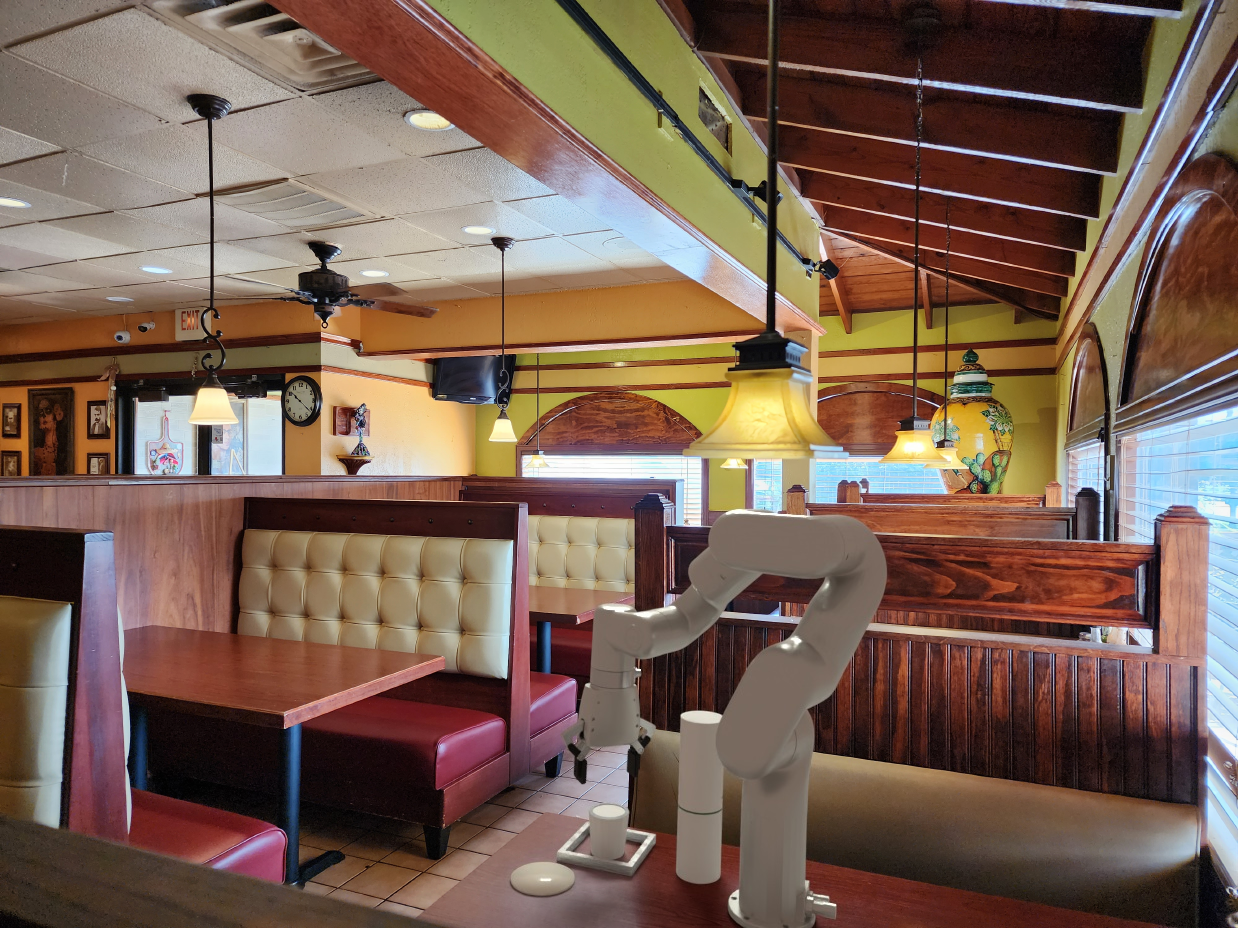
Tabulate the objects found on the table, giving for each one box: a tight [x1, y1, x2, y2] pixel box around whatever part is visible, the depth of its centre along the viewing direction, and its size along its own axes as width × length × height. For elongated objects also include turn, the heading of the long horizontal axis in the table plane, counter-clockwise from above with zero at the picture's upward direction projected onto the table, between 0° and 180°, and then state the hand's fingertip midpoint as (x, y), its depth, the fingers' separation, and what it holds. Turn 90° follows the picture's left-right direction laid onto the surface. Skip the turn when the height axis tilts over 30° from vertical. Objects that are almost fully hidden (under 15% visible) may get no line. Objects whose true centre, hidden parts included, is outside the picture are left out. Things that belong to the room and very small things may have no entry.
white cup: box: [588, 802, 630, 860], centre depth 136 cm, size 7×7×7 cm
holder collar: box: [556, 821, 657, 877], centre depth 136 cm, size 13×13×2 cm
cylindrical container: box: [675, 710, 725, 885], centre depth 130 cm, size 7×7×25 cm
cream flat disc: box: [510, 861, 576, 897], centre depth 126 cm, size 10×10×1 cm
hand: (606, 777), depth 137 cm, fingers open, 9 cm apart
